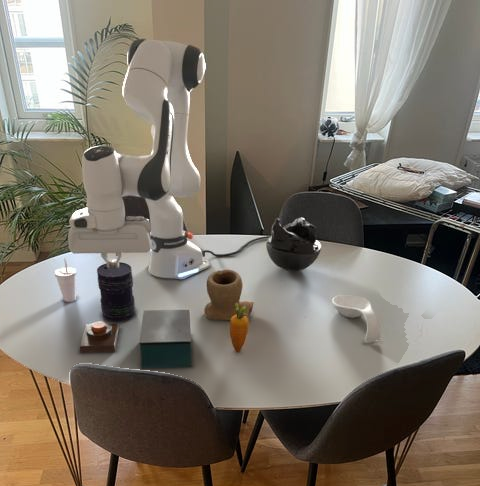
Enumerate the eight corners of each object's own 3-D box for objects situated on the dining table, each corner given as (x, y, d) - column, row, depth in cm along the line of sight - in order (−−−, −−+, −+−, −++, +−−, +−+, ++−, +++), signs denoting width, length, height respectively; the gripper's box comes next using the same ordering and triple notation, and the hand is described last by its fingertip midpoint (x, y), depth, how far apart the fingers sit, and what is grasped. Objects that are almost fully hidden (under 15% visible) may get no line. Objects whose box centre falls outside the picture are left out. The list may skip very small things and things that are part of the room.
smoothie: (74, 305, 145) (67, 264, 138) (55, 302, 146) (47, 261, 139) (84, 295, 150) (78, 255, 143) (65, 292, 151) (59, 253, 144)
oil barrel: (141, 309, 145) (138, 265, 137) (124, 325, 137) (120, 279, 129) (113, 303, 147) (108, 259, 139) (95, 318, 139) (89, 272, 131)
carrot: (228, 347, 130) (230, 300, 122) (245, 347, 130) (249, 300, 122) (229, 357, 126) (231, 309, 118) (247, 357, 126) (251, 309, 118)
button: (105, 333, 126) (104, 328, 125) (91, 333, 126) (90, 328, 125) (106, 326, 129) (106, 320, 128) (93, 326, 129) (92, 321, 128)
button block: (115, 352, 125) (113, 339, 123) (80, 353, 124) (78, 340, 122) (119, 329, 135) (118, 317, 133) (86, 330, 134) (85, 318, 131)
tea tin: (191, 366, 122) (190, 342, 117) (141, 368, 120) (139, 343, 116) (189, 335, 134) (189, 312, 130) (145, 336, 132) (143, 313, 128)
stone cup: (202, 325, 139) (202, 280, 131) (205, 305, 149) (206, 262, 141) (253, 328, 139) (256, 283, 131) (253, 308, 149) (256, 265, 141)
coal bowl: (326, 266, 178) (333, 219, 169) (303, 285, 164) (309, 235, 154) (280, 253, 187) (284, 207, 177) (254, 270, 172) (257, 221, 163)
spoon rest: (325, 304, 153) (328, 284, 150) (358, 302, 156) (362, 283, 152) (354, 345, 134) (359, 324, 130) (392, 342, 136) (397, 321, 132)
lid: (191, 343, 117) (191, 341, 116) (139, 345, 115) (139, 342, 115) (189, 312, 130) (189, 309, 129) (143, 312, 128) (143, 310, 128)
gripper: (150, 211, 119) (153, 260, 127) (67, 212, 117) (76, 262, 125) (149, 220, 114) (152, 271, 122) (62, 221, 112) (71, 273, 119)
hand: (113, 266), depth 123 cm, fingers closed
